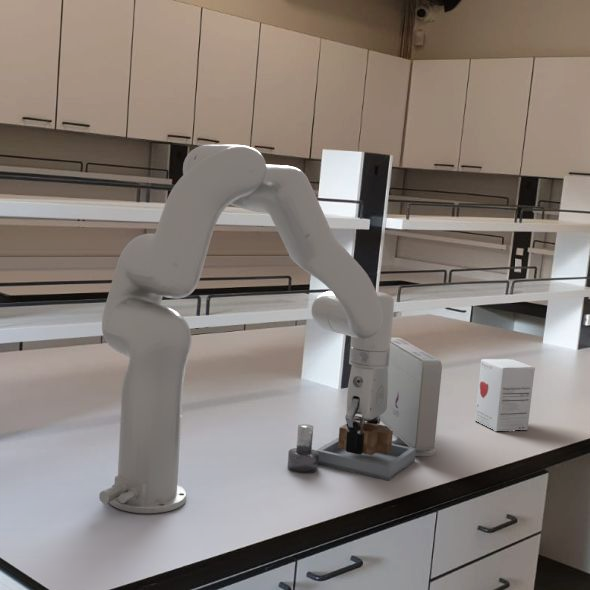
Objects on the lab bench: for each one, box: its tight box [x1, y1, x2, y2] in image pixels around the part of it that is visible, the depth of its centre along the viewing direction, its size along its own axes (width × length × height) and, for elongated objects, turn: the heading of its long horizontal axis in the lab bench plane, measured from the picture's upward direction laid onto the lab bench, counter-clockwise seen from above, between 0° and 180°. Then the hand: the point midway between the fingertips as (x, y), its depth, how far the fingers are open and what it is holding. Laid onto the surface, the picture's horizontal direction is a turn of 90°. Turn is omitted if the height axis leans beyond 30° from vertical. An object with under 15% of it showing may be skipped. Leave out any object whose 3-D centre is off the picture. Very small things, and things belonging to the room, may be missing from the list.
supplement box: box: [474, 358, 536, 432], centre depth 199 cm, size 9×9×15 cm
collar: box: [338, 420, 393, 455], centre depth 166 cm, size 9×7×4 cm
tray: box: [314, 437, 417, 481], centre depth 166 cm, size 14×15×2 cm
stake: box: [287, 423, 319, 474], centre depth 160 cm, size 6×6×8 cm
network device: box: [380, 337, 443, 457], centre depth 181 cm, size 26×9×20 cm, turn 13°
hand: (362, 447), depth 166 cm, fingers closed on collar, 7 cm apart
